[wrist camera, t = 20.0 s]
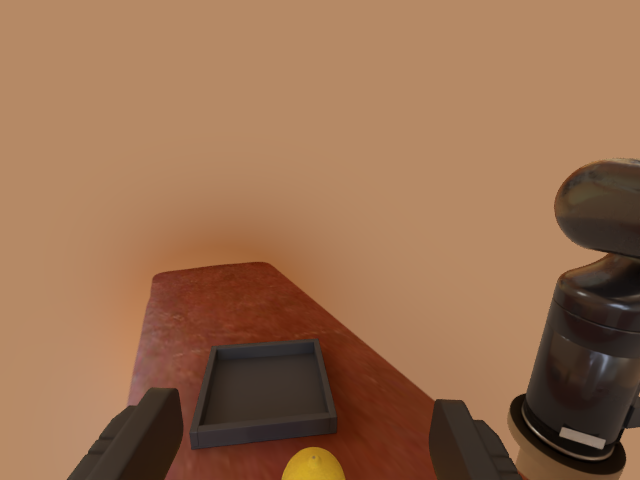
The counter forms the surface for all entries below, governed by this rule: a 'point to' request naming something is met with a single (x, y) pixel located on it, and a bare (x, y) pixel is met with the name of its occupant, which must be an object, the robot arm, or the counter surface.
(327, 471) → the lemon
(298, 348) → the dark grey tray
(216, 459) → the counter surface
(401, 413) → the counter surface
